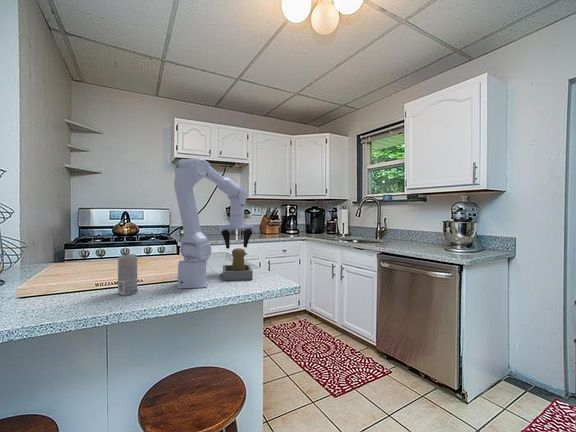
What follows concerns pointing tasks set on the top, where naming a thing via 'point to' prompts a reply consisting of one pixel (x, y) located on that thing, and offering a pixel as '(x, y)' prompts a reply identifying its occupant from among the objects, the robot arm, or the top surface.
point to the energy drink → (127, 274)
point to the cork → (238, 260)
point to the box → (237, 273)
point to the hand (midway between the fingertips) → (236, 247)
